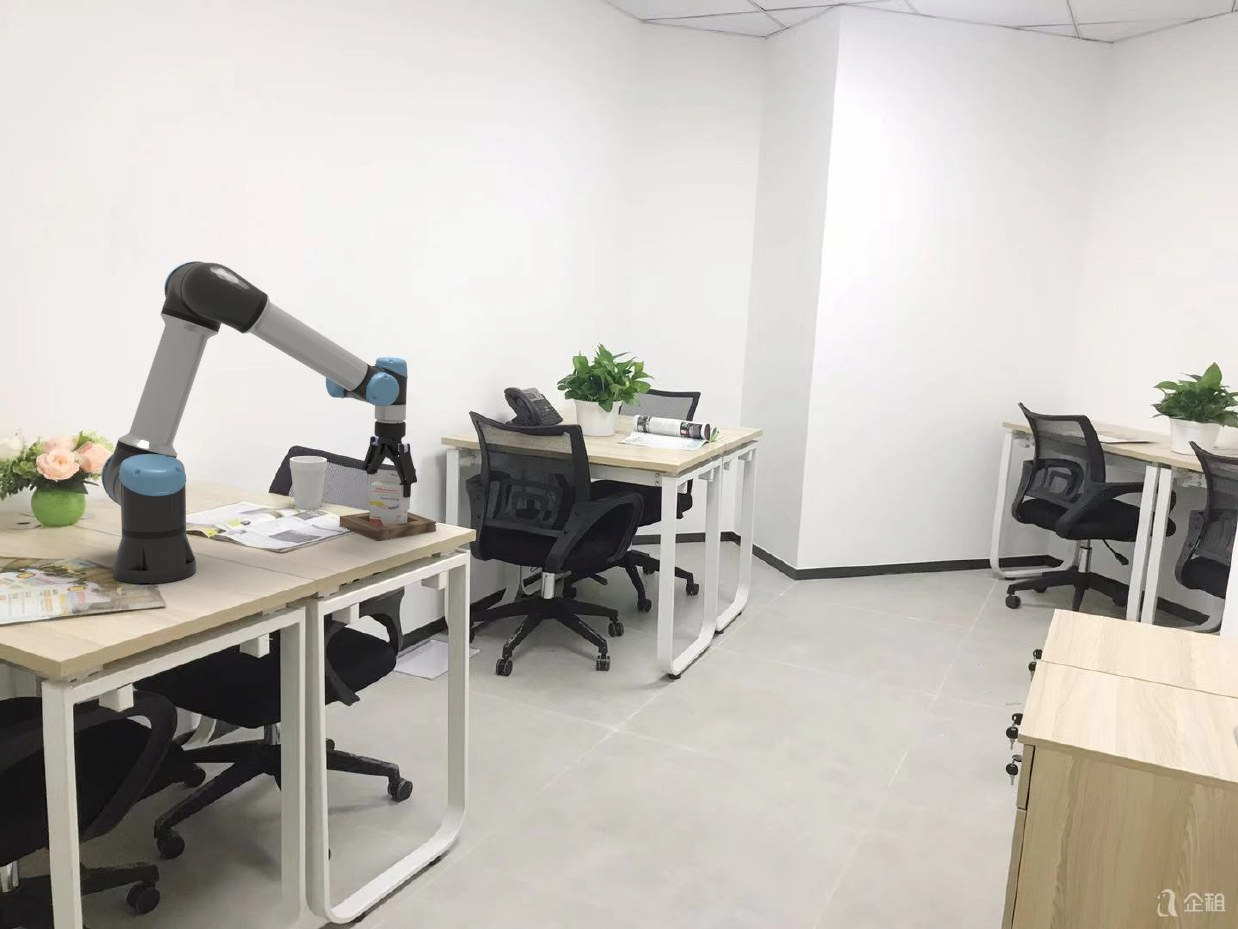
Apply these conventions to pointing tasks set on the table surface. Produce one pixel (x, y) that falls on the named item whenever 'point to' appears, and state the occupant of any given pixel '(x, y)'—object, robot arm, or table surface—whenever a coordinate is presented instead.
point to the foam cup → (308, 480)
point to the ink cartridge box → (386, 500)
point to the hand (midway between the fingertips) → (388, 504)
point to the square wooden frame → (376, 532)
